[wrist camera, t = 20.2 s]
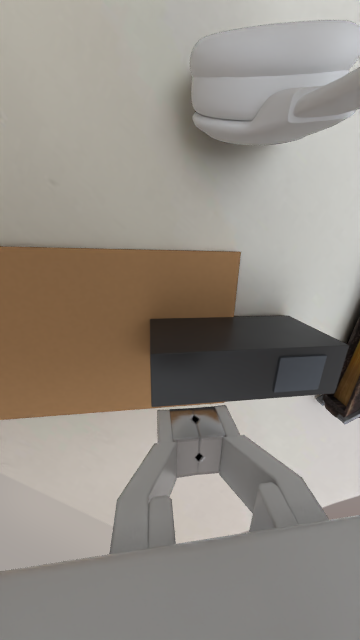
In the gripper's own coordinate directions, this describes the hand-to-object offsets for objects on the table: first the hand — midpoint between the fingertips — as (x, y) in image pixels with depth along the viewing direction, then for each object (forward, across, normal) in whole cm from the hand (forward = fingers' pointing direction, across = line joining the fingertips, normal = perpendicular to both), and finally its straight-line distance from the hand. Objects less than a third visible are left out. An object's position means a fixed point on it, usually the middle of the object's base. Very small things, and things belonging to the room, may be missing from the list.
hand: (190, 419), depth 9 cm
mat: (+9, +5, 0) cm, 11 cm away
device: (+6, +2, 0) cm, 6 cm away
